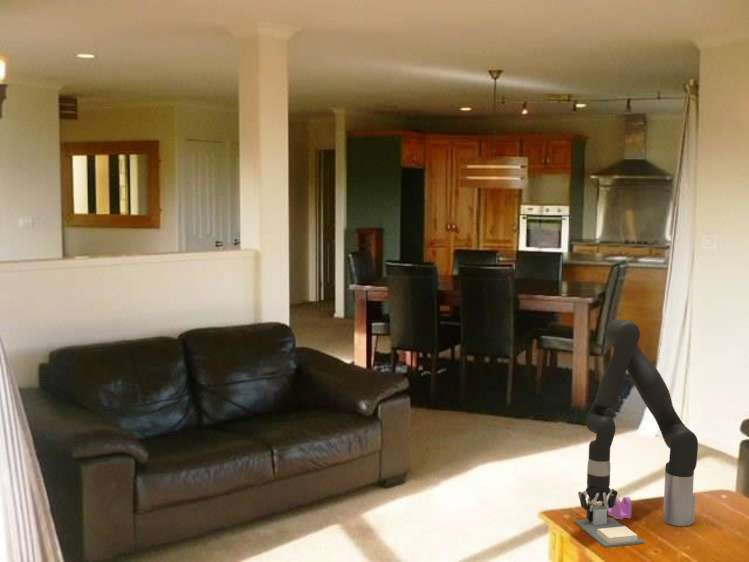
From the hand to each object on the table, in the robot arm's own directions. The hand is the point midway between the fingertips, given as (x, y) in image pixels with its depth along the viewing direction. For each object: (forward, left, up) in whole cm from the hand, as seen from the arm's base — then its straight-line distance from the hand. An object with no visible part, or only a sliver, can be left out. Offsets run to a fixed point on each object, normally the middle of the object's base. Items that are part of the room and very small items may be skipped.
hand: (596, 520), depth 291 cm
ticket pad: (0, +8, -1) cm, 8 cm away
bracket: (-11, -8, -2) cm, 14 cm away
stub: (0, 0, -1) cm, 1 cm away
